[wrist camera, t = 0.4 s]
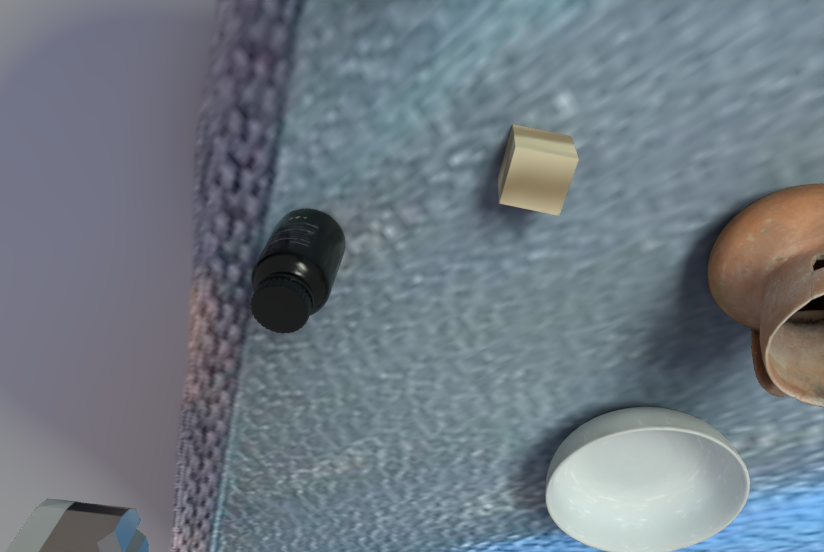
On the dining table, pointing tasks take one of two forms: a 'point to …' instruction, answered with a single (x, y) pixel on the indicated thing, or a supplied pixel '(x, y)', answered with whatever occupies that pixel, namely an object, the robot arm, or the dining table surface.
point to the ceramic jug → (777, 287)
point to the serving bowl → (645, 481)
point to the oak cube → (536, 170)
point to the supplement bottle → (296, 270)
